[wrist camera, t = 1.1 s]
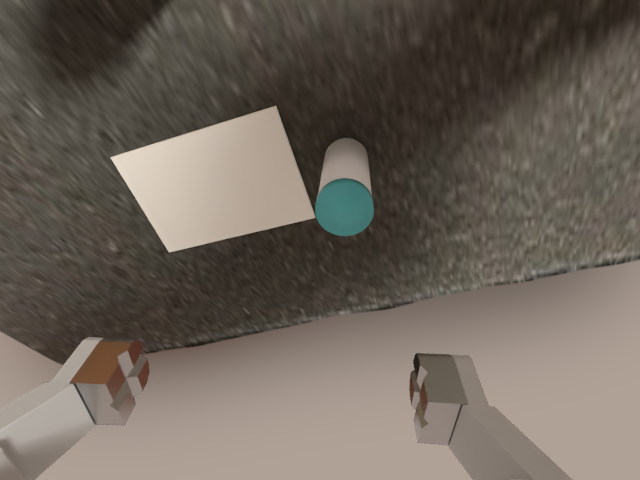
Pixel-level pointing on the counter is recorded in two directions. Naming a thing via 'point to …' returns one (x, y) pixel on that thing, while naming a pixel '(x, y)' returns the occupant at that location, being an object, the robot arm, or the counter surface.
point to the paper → (218, 181)
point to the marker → (345, 189)
